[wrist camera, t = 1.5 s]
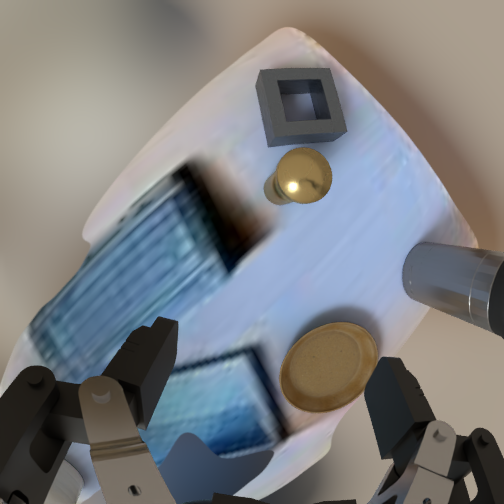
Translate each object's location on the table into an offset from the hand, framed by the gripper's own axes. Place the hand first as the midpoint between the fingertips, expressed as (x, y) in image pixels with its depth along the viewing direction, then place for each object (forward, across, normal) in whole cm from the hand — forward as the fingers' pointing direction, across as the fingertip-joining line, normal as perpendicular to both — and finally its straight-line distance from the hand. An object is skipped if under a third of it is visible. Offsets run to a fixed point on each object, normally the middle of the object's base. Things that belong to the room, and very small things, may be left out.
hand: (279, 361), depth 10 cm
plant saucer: (+24, -12, +19) cm, 32 cm away
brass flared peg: (+28, 0, -3) cm, 28 cm away
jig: (+30, 0, -14) cm, 33 cm away
